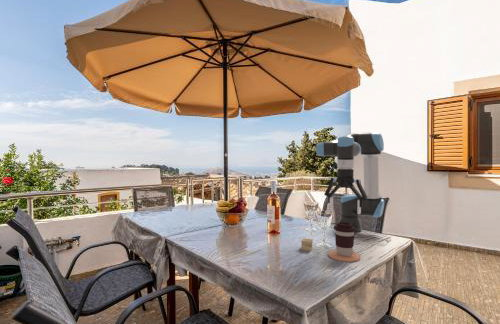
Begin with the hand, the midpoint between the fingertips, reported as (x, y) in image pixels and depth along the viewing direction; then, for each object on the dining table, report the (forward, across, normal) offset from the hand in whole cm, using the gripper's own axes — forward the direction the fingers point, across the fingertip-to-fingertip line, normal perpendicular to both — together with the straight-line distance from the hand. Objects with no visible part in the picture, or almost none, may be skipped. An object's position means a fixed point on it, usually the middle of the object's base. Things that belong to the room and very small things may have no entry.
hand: (344, 211), depth 135 cm
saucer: (+22, 0, -1) cm, 22 cm away
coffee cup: (+21, 0, 0) cm, 21 cm away
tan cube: (+22, -19, -3) cm, 29 cm away
